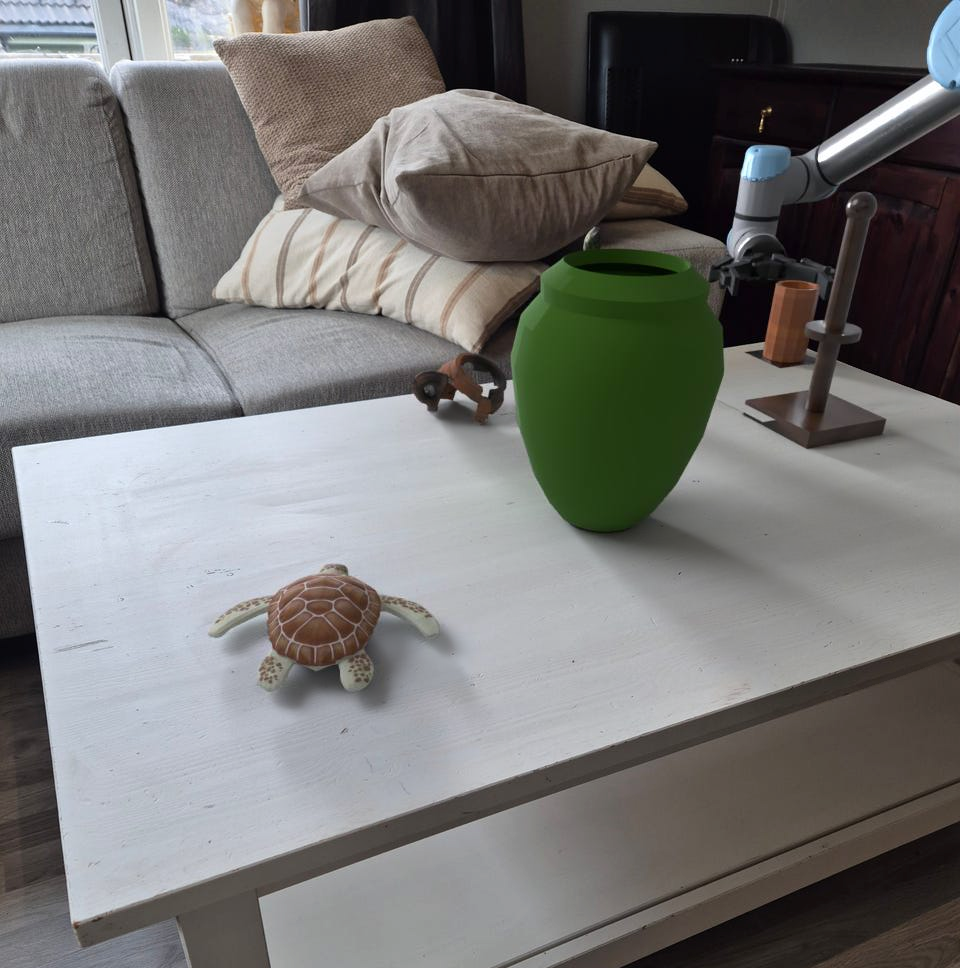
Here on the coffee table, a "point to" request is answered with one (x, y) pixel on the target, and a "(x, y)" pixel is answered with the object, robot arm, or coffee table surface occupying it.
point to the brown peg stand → (828, 356)
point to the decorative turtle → (323, 625)
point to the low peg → (760, 356)
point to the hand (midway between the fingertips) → (782, 288)
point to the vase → (615, 381)
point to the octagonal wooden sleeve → (790, 320)
